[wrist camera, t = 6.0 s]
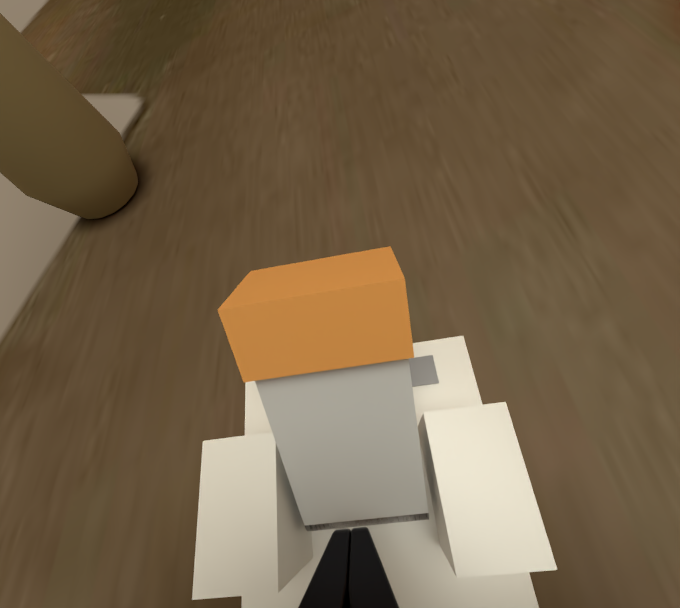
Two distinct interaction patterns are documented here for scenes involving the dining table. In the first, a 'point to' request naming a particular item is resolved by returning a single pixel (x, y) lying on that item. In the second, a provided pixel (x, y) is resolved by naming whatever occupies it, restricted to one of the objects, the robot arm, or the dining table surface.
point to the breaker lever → (335, 384)
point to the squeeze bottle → (57, 136)
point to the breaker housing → (393, 538)
